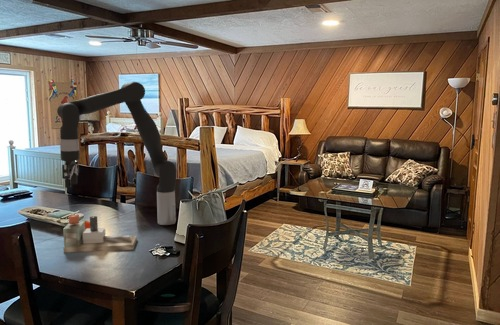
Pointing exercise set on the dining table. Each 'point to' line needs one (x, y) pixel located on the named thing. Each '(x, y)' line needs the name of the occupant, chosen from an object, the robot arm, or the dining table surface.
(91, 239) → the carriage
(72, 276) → the dining table surface
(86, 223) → the clementine
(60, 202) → the dining table surface
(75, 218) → the button
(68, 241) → the rail base
